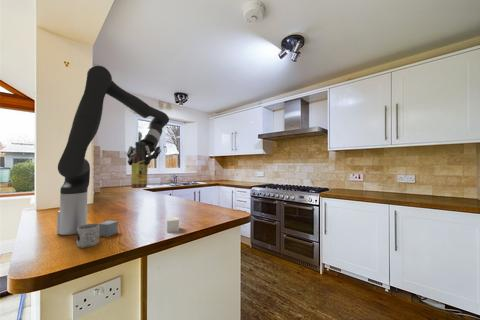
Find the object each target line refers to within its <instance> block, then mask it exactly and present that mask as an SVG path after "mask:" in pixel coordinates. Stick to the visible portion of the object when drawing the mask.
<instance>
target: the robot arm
mask: <svg viewBox="0 0 480 320" xmlns="http://www.w3.org/2000/svg"><path fill="white" fill-rule="evenodd" d="M106 95H108V96H110V97H112V98H113V99H115V100H116V101H118V102H119V103H121V104H123V105H124V106H125V107H127V108H129V110H131V111H133V112H134V113H135V114H137V115H138V116H140V117H142V118H143V119H147V118H148V117H152V119H151V121H149V124H148V127H147V129H146V131H145V132H143V134H142V137H141V139H139V141H138V142H145V143H146V146H145V154H146V157H147V158H146V160H145V162H144V163H145V165H146V166H149V165H150V163H151V161H152V160H156V159H158V157H159V156H160V154H161V152H162V150H161V146H158V143H159V142H160V138H161V136H162V134H163V128H165V127H166V125H167V124H168V123H169V122H170V118H169V116H168V114H167V113H165V112H164V111H161V110H159V109H157V108H155V107H153V106H150V105H149V104H148V103H147V102H145V101H144V100H142V99H141V98H139V97H137V96H135V95H134V94H132V93H130V92H128V91H126V90H124V89H123V88H122V87H120V86H119V85H118V84H117V83H115V82H114V80H113V77H112V73H111V72H110V71H109V70H108V69H107V67H105V66H103V65H99V64H97V65H93V66H91V67H90V68H88V70H87V73H86V81H85V87H84V91H83V94H82V96H81V98H80V100H79V101H80V102H79V103H78V106H77V108H76V111H75V113H74V116H73V117H74V118H73V120H72V124H71V128H70V132H69V134H68V139H67V143H66V145H65V148H64V150H63V152H62V155H61V157H60V159H59V161H58V163H57V172H58V173H59V174H60V175H61V176H62V177H64V181H63V184H62V185H61V187H60V190H59V191H60V197H59V210H58V211H57V213H56V215H57V217H56V220H57V221H56V234H57V235H61V236H68V235H75V234H76V235H77V228H78V227H79V226H82V225H86V224H88V189H89V185H90V179H91V178H90V177H91V176H90V175H91V174H90V173H91V166H90V162H89V160H87V159H86V153H87V150H88V148H89V145H90V144H91V142H92V141H93V140H94V139H95V136H96V135H97V133H98V131H99V127H100V124H101V120H102V115H103V109H104V101H105V96H106ZM128 147H129V148H128V150H127V153H126V157H127V158H128V159H127V164H128V165H129V166H132V158H133V156H134V154H135V153H136V152H135V151H136V146H135V147H133V146H131V145H130V146H128Z"/></svg>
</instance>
